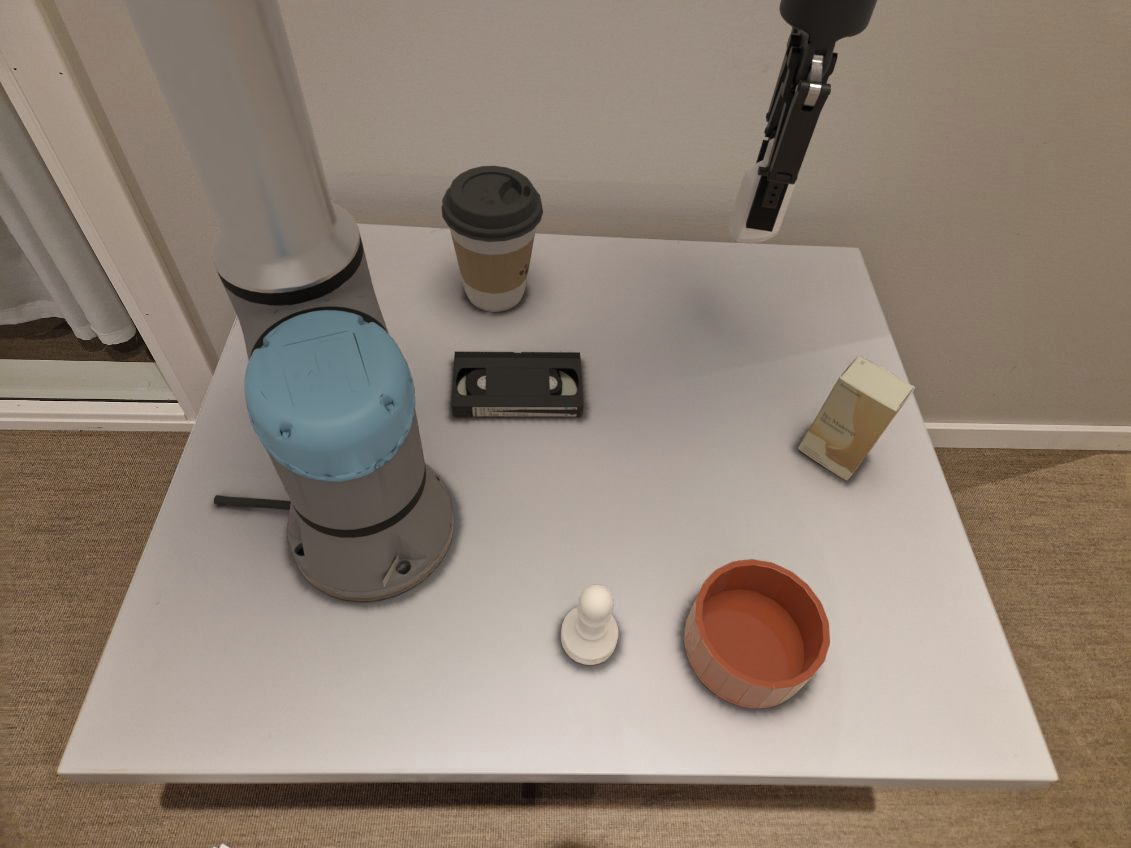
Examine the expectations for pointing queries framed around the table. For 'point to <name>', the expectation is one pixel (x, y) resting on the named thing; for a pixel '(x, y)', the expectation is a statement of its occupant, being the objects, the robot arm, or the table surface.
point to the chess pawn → (590, 627)
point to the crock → (756, 633)
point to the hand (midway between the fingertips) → (758, 212)
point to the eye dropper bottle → (745, 202)
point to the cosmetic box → (854, 416)
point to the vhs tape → (517, 384)
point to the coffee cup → (493, 233)
